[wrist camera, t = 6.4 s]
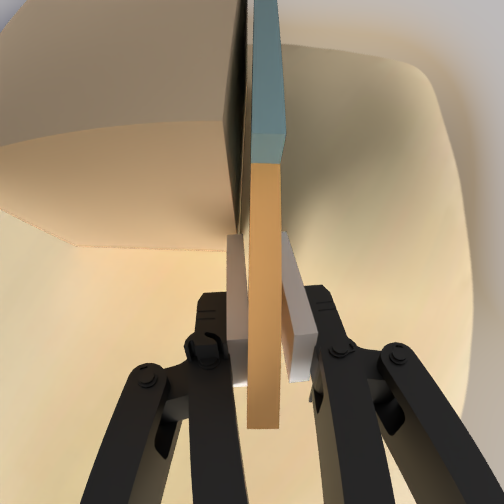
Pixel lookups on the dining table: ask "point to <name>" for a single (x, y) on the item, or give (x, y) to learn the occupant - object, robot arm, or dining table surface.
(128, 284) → the dining table surface
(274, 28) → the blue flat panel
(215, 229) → the kraft box
